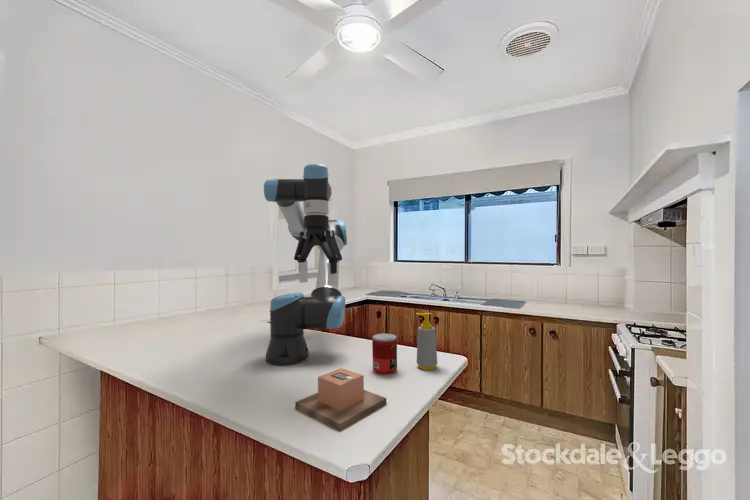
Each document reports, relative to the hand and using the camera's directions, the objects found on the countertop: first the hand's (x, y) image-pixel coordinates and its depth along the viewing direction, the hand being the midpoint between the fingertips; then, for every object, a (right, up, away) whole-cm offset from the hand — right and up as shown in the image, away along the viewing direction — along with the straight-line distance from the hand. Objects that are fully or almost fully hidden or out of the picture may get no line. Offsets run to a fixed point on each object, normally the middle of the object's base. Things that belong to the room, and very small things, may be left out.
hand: (317, 283), depth 102 cm
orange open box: (+10, -27, -20) cm, 35 cm away
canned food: (+21, -29, +4) cm, 36 cm away
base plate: (+10, -29, -20) cm, 36 cm away
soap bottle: (+35, -29, +7) cm, 46 cm away
